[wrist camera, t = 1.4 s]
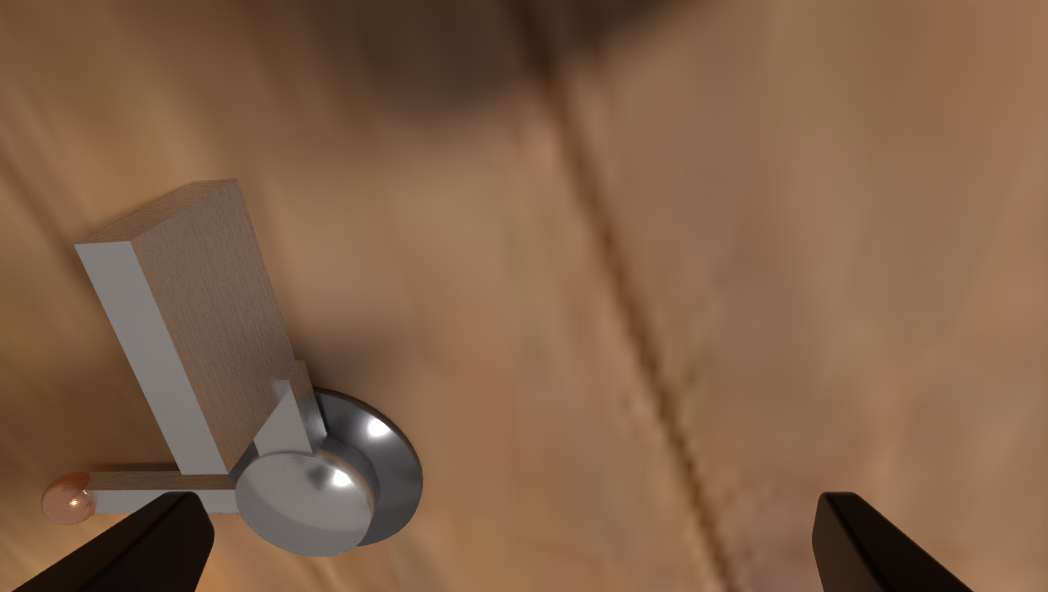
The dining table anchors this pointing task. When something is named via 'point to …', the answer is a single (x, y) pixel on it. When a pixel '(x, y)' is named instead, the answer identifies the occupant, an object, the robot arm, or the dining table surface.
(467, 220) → the dining table surface
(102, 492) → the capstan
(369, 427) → the foot base
